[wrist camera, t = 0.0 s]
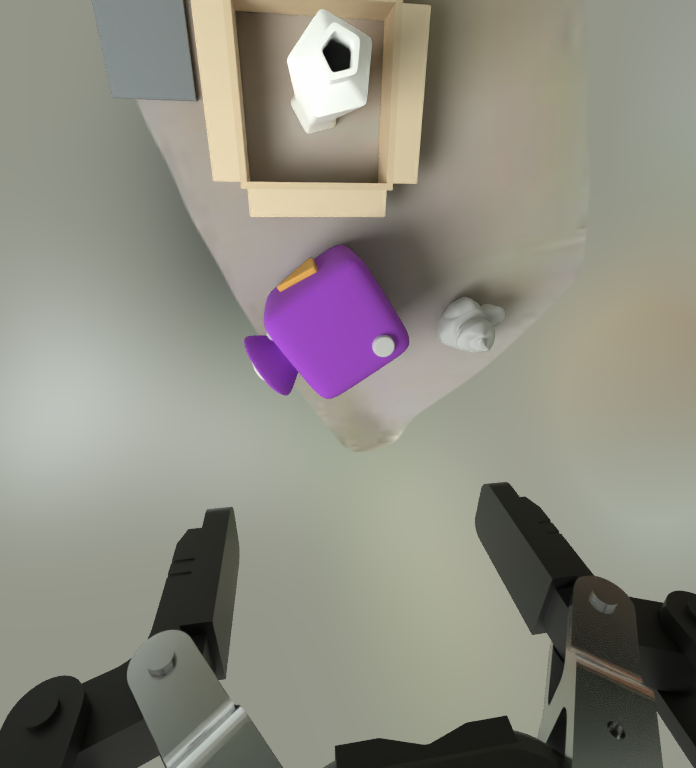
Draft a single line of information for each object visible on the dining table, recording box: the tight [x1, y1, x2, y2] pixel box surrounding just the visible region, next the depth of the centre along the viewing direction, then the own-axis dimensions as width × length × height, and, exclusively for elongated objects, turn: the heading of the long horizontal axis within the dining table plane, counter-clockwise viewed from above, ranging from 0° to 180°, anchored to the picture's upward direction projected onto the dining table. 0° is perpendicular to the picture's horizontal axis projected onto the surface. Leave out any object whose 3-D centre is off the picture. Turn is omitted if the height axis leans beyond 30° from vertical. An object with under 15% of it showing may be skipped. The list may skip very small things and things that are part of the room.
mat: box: [92, 0, 197, 101], centre depth 28 cm, size 8×6×1 cm
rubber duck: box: [437, 297, 505, 353], centre depth 39 cm, size 5×7×8 cm
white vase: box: [287, 9, 372, 133], centre depth 25 cm, size 5×4×15 cm
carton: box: [191, 0, 431, 217], centre depth 30 cm, size 16×16×4 cm
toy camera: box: [244, 245, 409, 399], centre depth 35 cm, size 11×14×10 cm
